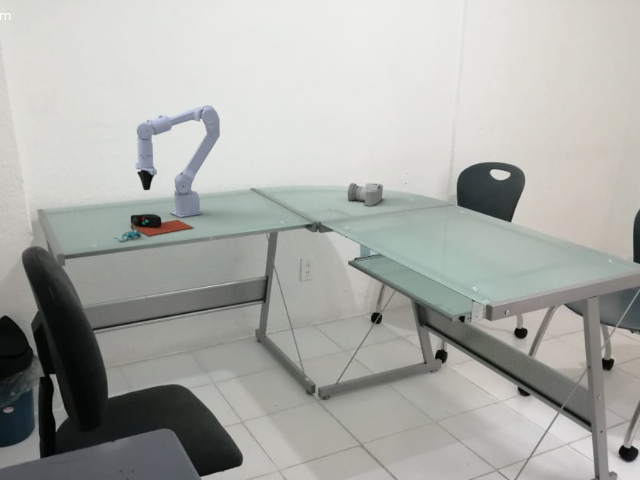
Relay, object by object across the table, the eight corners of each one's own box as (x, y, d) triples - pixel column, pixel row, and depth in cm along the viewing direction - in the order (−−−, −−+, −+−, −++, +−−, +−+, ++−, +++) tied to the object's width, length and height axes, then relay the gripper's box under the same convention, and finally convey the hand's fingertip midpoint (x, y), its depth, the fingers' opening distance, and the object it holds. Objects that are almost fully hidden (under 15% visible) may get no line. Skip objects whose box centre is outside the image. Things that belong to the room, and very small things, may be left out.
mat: (177, 220, 236) (177, 219, 235) (192, 228, 227) (192, 227, 227) (134, 228, 225) (134, 227, 225) (148, 236, 217) (148, 235, 216)
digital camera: (359, 203, 281) (362, 181, 279) (386, 207, 273) (389, 185, 271) (341, 202, 268) (344, 179, 266) (369, 206, 260) (373, 182, 258)
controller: (140, 211, 233) (126, 215, 224) (169, 213, 229) (156, 217, 220) (141, 223, 234) (127, 226, 225) (169, 225, 231) (156, 228, 221)
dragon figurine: (132, 241, 207) (144, 227, 212) (113, 232, 207) (125, 218, 212) (131, 253, 212) (142, 239, 217) (112, 244, 212) (124, 230, 217)
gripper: (127, 152, 235) (129, 186, 241) (144, 158, 225) (145, 194, 230) (144, 151, 239) (145, 185, 245) (161, 157, 229) (162, 192, 234)
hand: (146, 189), depth 238 cm, fingers closed
